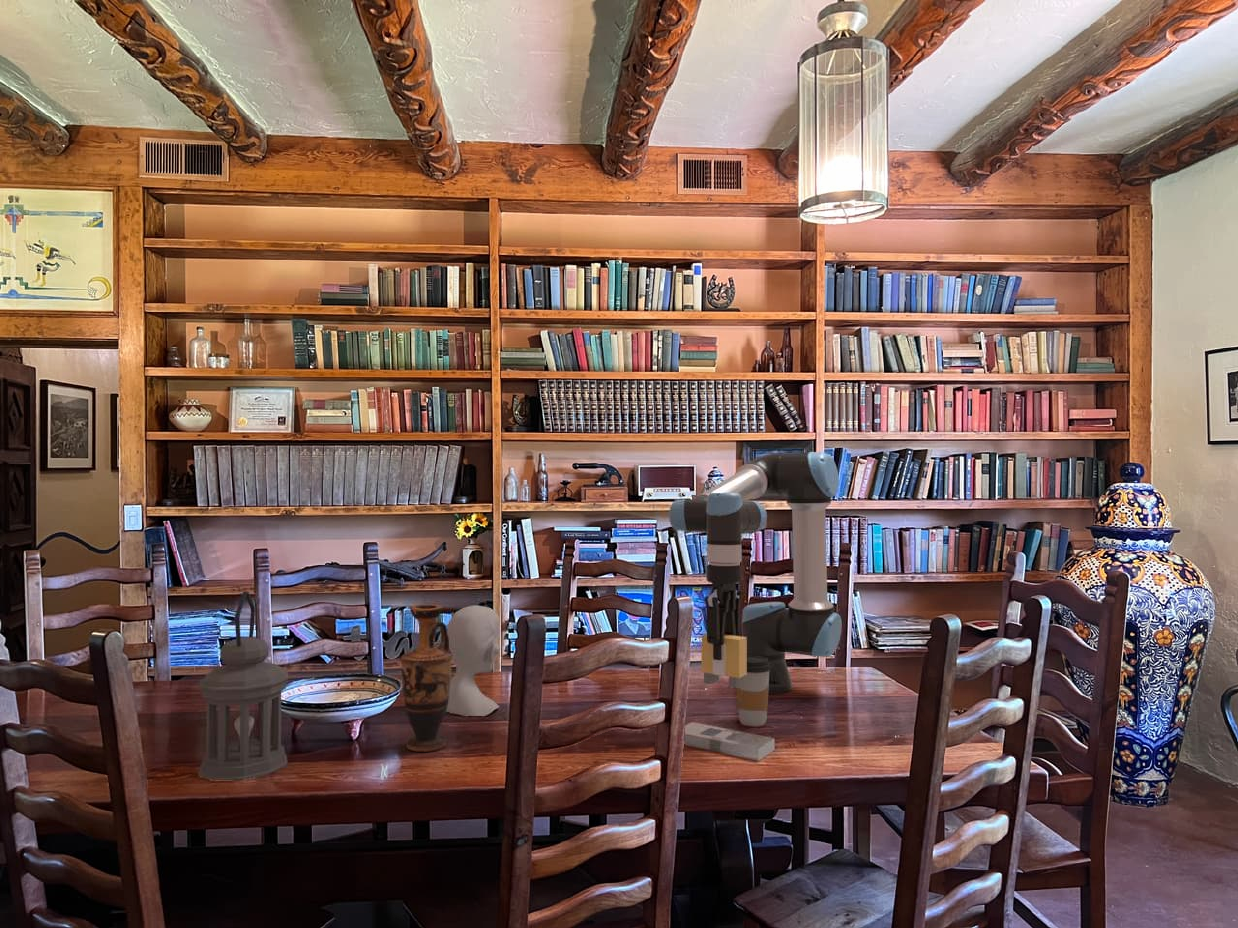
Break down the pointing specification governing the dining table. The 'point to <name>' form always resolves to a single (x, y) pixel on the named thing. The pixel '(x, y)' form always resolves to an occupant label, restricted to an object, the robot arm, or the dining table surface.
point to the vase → (427, 680)
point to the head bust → (472, 658)
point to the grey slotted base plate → (728, 741)
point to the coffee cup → (754, 692)
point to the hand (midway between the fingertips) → (723, 672)
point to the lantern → (243, 708)
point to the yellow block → (734, 660)
